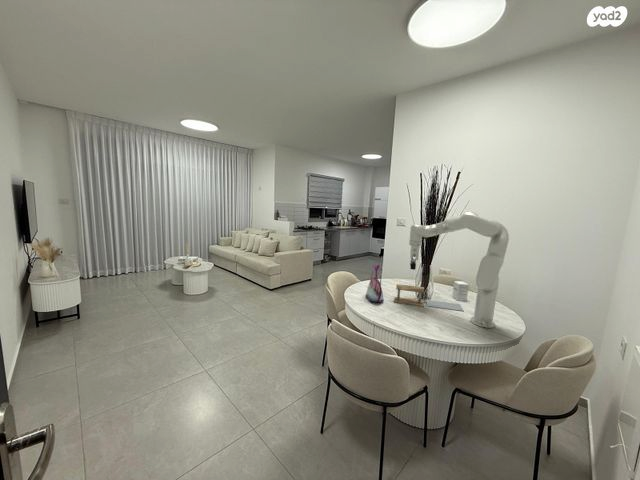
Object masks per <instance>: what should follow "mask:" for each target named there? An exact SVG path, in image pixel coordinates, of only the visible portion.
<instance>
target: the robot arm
mask: <svg viewBox="0 0 640 480" xmlns="http://www.w3.org/2000/svg"><path fill="white" fill-rule="evenodd" d="M466 229H468V230H470V231H472V232H475V233H477V234H479V235H480V236H483V237H487V238H490V240H489V243H488V248H487V251H486V254H485V255H484V256H483V257H482V258H481V260H480V263H479V266H478V270H477V273H476V276H475V285H476V287H477V290H476V298H475V305H474V313H473V316H472V317H470V322H471V323H472V324H474V325H475V326H478V327H480V328H481V327H482V328H487V329H492V328H496V323H495V322H494V314H495V307H496V303H497V302H496V301H497V294H498V289H499V284H500V277H499V273H500V270H501V268H502V267H503V265H504V260H505V256H506V253H507V249H508V245H509V240H510V237H509V232H508V230H507V228H506V227H505V226H504V224H502V223H500V222H498V221H495V220H488V219H485V218H483V217H481V216H479V215H478V213H476V212H473V211H472V212H471V211H469V212H467V211H466V212H464V213H462V214H459V215H457V216H456V215H455V216H453V217H449V218H447V219H445V220H444V221H441V222H438V223H434V224H430V225H428V224H427V225H422V224H416V223H415V224H411V226H410V231H409V241H408V242H409V243H408V244H409V246H410V252H409V254H410V255H409V256H410V258H409V259H410V263H409V266H410V267H409V268H410V270H416V268H417V267H416V266H417V261H419V253H420V247H421V246H422V240H423V239H422V238H430V237H435V236H438V235H439V236H440V235H442V234H446V233H453V232H456V231H460V230H466Z"/></svg>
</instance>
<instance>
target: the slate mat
mask: <svg viewBox="0 0 640 480" xmlns="http://www.w3.org/2000/svg"><path fill="white" fill-rule="evenodd" d="M425 302H426V306H427V307H429V308H435V309H442V310H448V311H449V310H450V311H457V312H465V311H464V309H463V306H462V305H461V304H460V303H455V302H454V303H453V302H445V301H439V300H432V299H425Z"/></svg>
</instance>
